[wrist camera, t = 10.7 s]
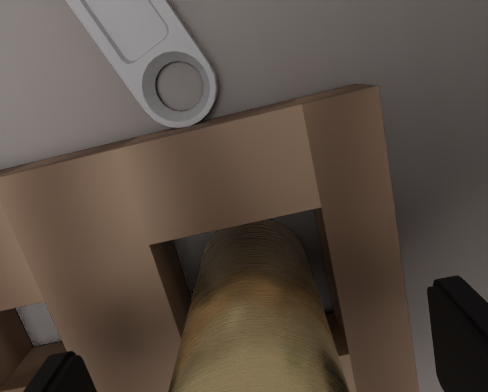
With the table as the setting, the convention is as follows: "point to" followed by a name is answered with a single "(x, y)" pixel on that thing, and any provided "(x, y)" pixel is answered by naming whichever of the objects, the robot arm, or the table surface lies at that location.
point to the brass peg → (256, 318)
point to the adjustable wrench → (147, 51)
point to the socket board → (197, 222)
